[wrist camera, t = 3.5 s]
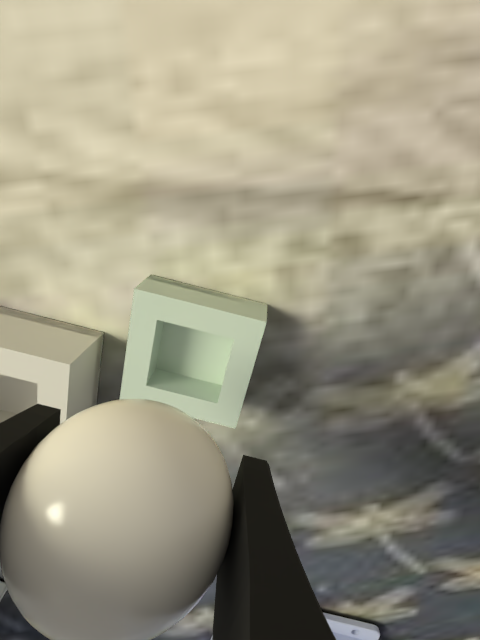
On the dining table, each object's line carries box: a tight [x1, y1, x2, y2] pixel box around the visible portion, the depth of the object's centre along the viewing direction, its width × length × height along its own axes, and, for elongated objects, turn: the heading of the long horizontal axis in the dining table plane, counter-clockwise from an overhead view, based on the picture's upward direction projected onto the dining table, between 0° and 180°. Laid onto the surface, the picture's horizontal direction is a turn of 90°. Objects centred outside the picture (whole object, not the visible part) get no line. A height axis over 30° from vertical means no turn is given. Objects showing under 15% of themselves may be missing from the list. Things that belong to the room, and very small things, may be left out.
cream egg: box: [0, 399, 234, 640], centre depth 8 cm, size 5×5×5 cm
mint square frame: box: [119, 275, 267, 429], centre depth 15 cm, size 5×5×2 cm
